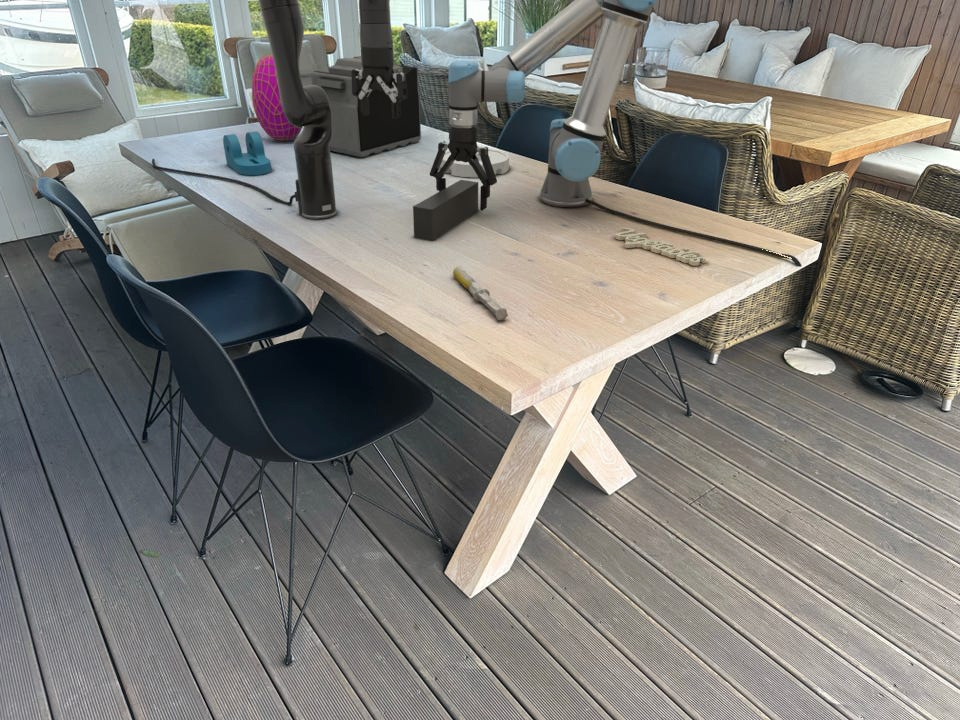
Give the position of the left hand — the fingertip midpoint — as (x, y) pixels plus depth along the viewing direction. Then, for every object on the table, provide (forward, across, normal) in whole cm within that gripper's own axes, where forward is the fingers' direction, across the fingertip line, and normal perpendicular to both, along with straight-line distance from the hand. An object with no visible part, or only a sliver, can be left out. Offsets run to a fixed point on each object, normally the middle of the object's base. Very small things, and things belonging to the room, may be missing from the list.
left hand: (380, 116), depth 168 cm
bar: (+28, +13, +9) cm, 32 cm away
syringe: (+28, +40, -29) cm, 57 cm away
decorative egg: (+28, -87, +65) cm, 112 cm away
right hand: (+26, +13, +19) cm, 34 cm away
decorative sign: (+28, +68, +16) cm, 75 cm away
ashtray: (+28, -4, +62) cm, 69 cm away
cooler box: (+28, -52, +73) cm, 94 cm away
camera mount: (+28, -70, +28) cm, 81 cm away
